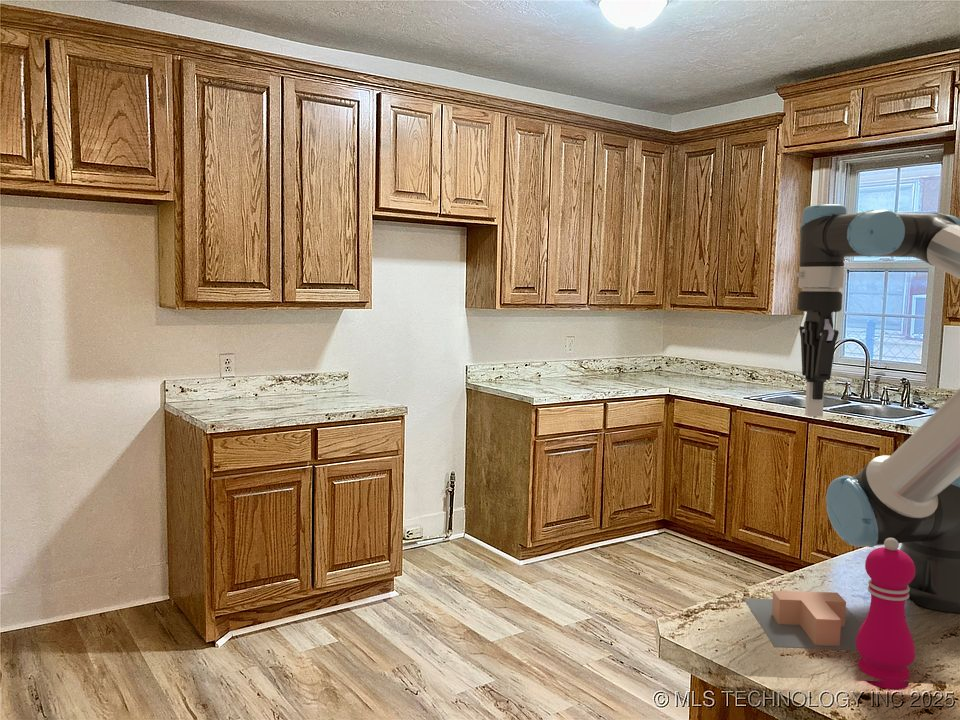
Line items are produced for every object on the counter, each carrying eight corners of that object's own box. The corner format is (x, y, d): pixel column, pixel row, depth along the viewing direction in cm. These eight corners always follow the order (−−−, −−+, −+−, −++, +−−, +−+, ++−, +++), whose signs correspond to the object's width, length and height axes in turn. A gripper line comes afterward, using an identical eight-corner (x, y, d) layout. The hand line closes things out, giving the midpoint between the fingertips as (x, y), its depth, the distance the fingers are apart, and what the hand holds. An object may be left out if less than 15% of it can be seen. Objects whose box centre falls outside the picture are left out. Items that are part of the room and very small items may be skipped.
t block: (836, 616, 120) (837, 592, 120) (862, 646, 110) (864, 620, 110) (771, 614, 121) (772, 590, 120) (792, 644, 111) (793, 618, 111)
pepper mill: (888, 696, 99) (897, 550, 97) (842, 670, 106) (849, 533, 104) (925, 685, 102) (935, 542, 100) (878, 660, 109) (886, 526, 106)
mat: (840, 608, 126) (840, 601, 126) (887, 658, 109) (887, 651, 109) (742, 604, 127) (743, 598, 127) (774, 654, 110) (774, 646, 110)
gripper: (787, 289, 146) (782, 409, 148) (812, 290, 133) (805, 422, 135) (827, 289, 145) (821, 410, 148) (856, 290, 132) (848, 422, 135)
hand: (813, 415), depth 141 cm, fingers closed
